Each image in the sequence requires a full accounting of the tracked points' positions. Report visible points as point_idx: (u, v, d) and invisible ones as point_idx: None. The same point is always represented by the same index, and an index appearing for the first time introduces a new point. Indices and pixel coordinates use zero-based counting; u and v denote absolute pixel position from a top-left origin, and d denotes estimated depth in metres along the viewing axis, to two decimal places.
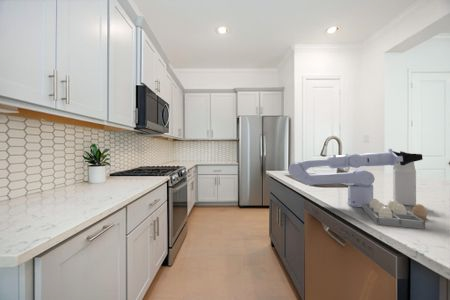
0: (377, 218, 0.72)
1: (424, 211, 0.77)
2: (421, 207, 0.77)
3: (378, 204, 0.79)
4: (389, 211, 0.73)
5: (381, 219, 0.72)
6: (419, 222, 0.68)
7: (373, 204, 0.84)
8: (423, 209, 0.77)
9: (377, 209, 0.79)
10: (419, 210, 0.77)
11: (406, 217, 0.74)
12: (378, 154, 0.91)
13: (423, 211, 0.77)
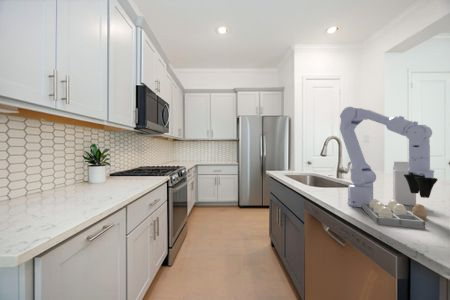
0: (377, 218, 0.72)
1: (424, 211, 0.77)
2: (421, 207, 0.77)
3: (378, 204, 0.79)
4: (389, 211, 0.73)
5: (381, 219, 0.72)
6: (419, 222, 0.68)
7: (373, 204, 0.84)
8: (423, 209, 0.77)
9: (377, 209, 0.79)
10: (419, 210, 0.77)
11: (406, 217, 0.74)
12: (429, 157, 0.76)
13: (423, 211, 0.77)
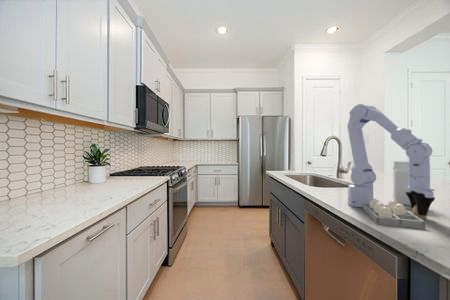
0: (377, 218, 0.72)
1: None
2: None
3: (378, 204, 0.79)
4: (389, 211, 0.73)
5: (381, 219, 0.72)
6: (419, 222, 0.68)
7: (373, 204, 0.84)
8: None
9: (377, 209, 0.79)
10: None
11: (406, 217, 0.74)
12: (429, 176, 0.76)
13: None
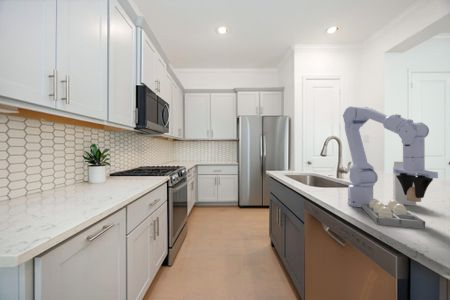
0: (377, 218, 0.72)
1: None
2: None
3: (378, 204, 0.79)
4: (389, 211, 0.73)
5: (381, 219, 0.72)
6: (419, 222, 0.68)
7: (373, 204, 0.84)
8: None
9: (377, 209, 0.79)
10: None
11: (406, 217, 0.74)
12: None
13: None
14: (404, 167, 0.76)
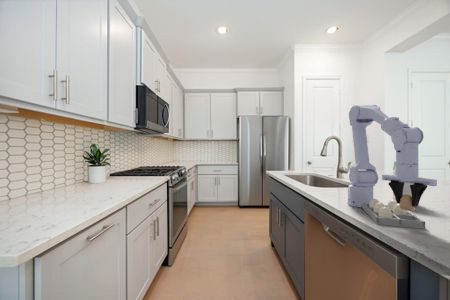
0: (377, 218, 0.72)
1: None
2: None
3: (378, 204, 0.79)
4: (389, 211, 0.73)
5: (381, 219, 0.72)
6: (419, 222, 0.68)
7: (373, 204, 0.84)
8: None
9: (377, 209, 0.79)
10: None
11: (406, 217, 0.74)
12: None
13: None
14: (400, 174, 0.71)
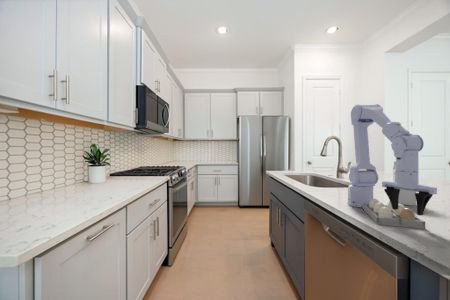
0: (377, 218, 0.72)
1: (414, 215, 0.71)
2: (412, 211, 0.71)
3: (378, 204, 0.79)
4: (389, 211, 0.73)
5: (381, 219, 0.72)
6: (419, 222, 0.68)
7: (373, 204, 0.84)
8: (413, 213, 0.71)
9: (377, 209, 0.79)
10: (412, 215, 0.70)
11: None
12: None
13: (414, 215, 0.71)
14: (400, 182, 0.71)
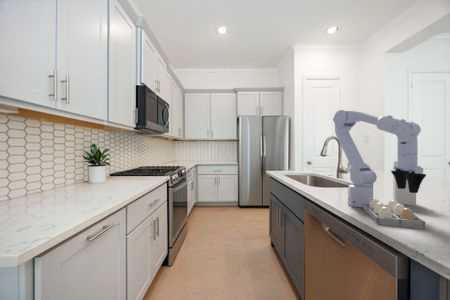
0: (377, 218, 0.72)
1: (414, 215, 0.71)
2: (412, 211, 0.71)
3: (378, 204, 0.79)
4: (389, 211, 0.73)
5: (381, 219, 0.72)
6: (419, 222, 0.68)
7: (373, 204, 0.84)
8: (413, 213, 0.71)
9: (377, 209, 0.79)
10: (412, 215, 0.70)
11: None
12: (417, 154, 0.78)
13: (414, 215, 0.71)
14: None
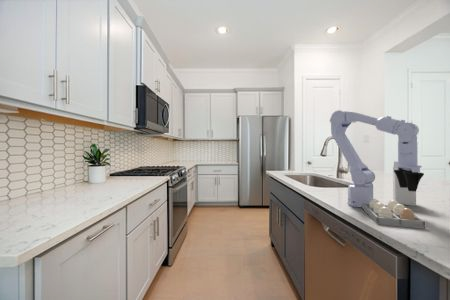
0: (377, 218, 0.72)
1: (414, 215, 0.71)
2: (412, 211, 0.71)
3: (378, 204, 0.79)
4: (389, 211, 0.73)
5: (381, 219, 0.72)
6: (419, 222, 0.68)
7: (373, 204, 0.84)
8: (413, 213, 0.71)
9: (377, 209, 0.79)
10: (412, 215, 0.70)
11: None
12: (416, 153, 0.80)
13: (414, 215, 0.71)
14: (398, 162, 0.84)
